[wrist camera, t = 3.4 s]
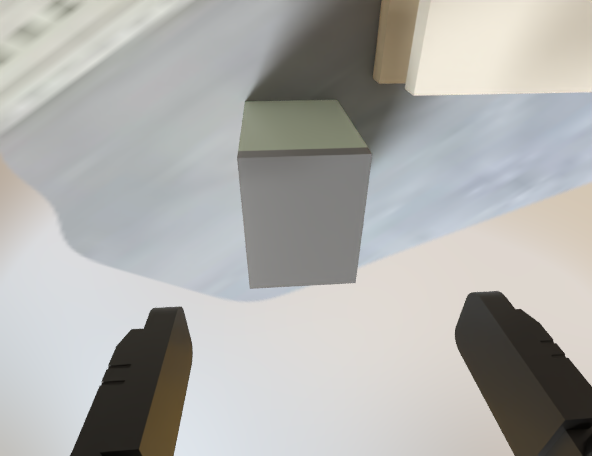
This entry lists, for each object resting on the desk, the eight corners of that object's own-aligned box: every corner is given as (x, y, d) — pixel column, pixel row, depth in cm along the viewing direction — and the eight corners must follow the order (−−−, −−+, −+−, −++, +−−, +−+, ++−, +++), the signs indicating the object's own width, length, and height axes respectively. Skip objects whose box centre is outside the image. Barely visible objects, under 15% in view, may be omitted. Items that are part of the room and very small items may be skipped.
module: (253, 205, 21) (249, 288, 15) (245, 101, 18) (237, 158, 12) (330, 202, 21) (355, 282, 16) (336, 99, 18) (372, 154, 12)
